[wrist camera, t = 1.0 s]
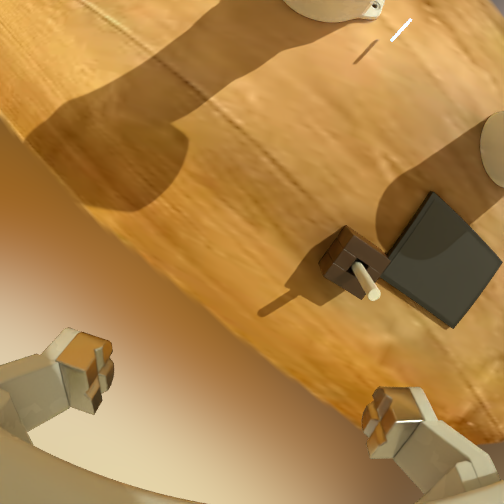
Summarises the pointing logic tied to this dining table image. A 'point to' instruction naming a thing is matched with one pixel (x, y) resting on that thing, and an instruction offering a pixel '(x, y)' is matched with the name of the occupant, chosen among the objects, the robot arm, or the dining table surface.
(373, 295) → the stylus
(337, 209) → the dining table surface
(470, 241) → the tablet
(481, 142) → the utensil holder
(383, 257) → the pen stand
